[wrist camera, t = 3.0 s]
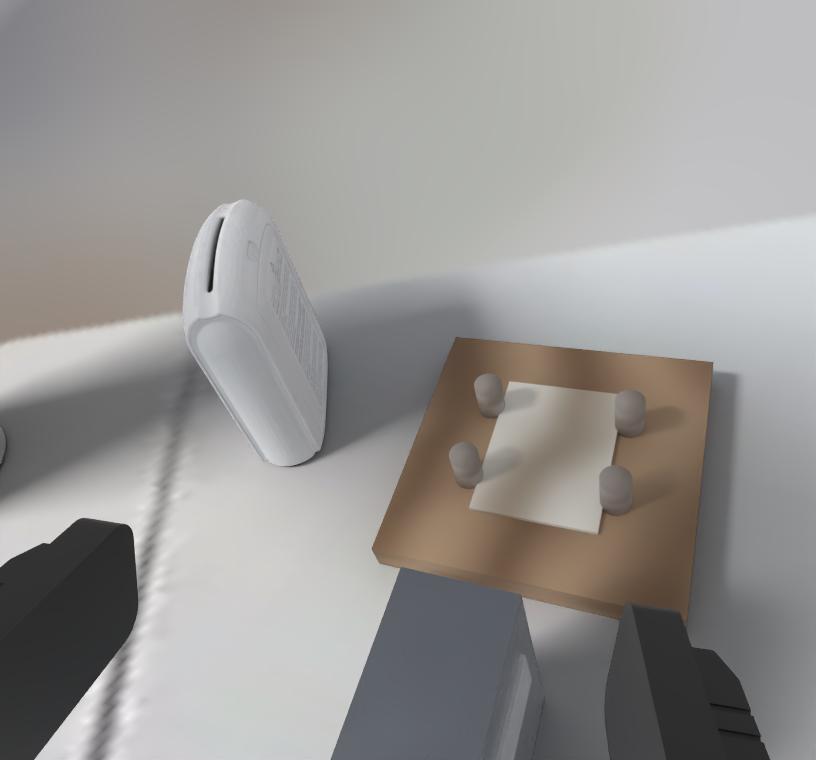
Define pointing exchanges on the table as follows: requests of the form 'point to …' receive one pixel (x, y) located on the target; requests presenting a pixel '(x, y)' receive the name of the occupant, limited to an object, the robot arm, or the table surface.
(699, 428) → the pin tray
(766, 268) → the table surface
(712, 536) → the table surface
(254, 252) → the photo printer
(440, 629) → the block
